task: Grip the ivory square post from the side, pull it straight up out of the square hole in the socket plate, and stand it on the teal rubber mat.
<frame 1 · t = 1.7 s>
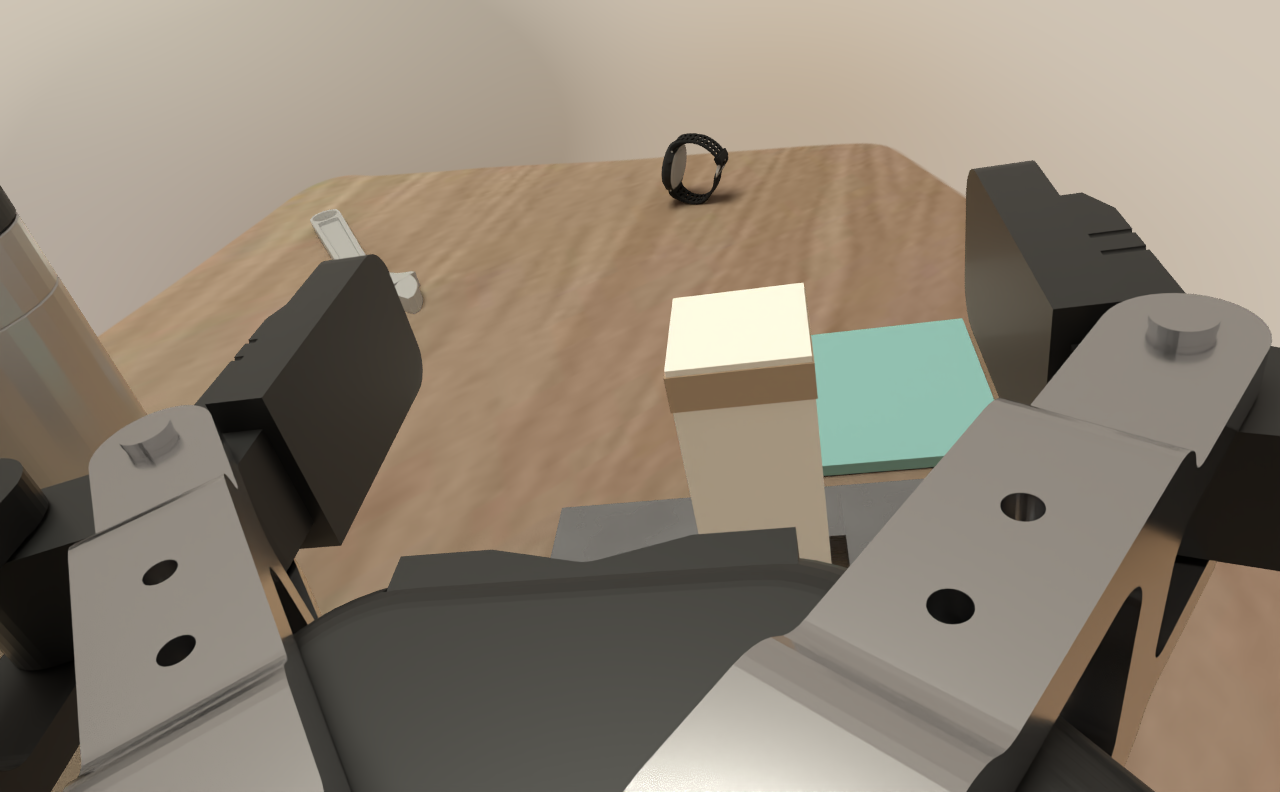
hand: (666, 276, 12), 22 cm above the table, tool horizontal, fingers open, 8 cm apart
socket plate: (783, 638, 34), on the table
post: (763, 502, 30), in the socket plate
smartwatch: (697, 204, 68), on the table
adjustable wrench: (366, 273, 70), on the table
mat: (869, 398, 44), on the table
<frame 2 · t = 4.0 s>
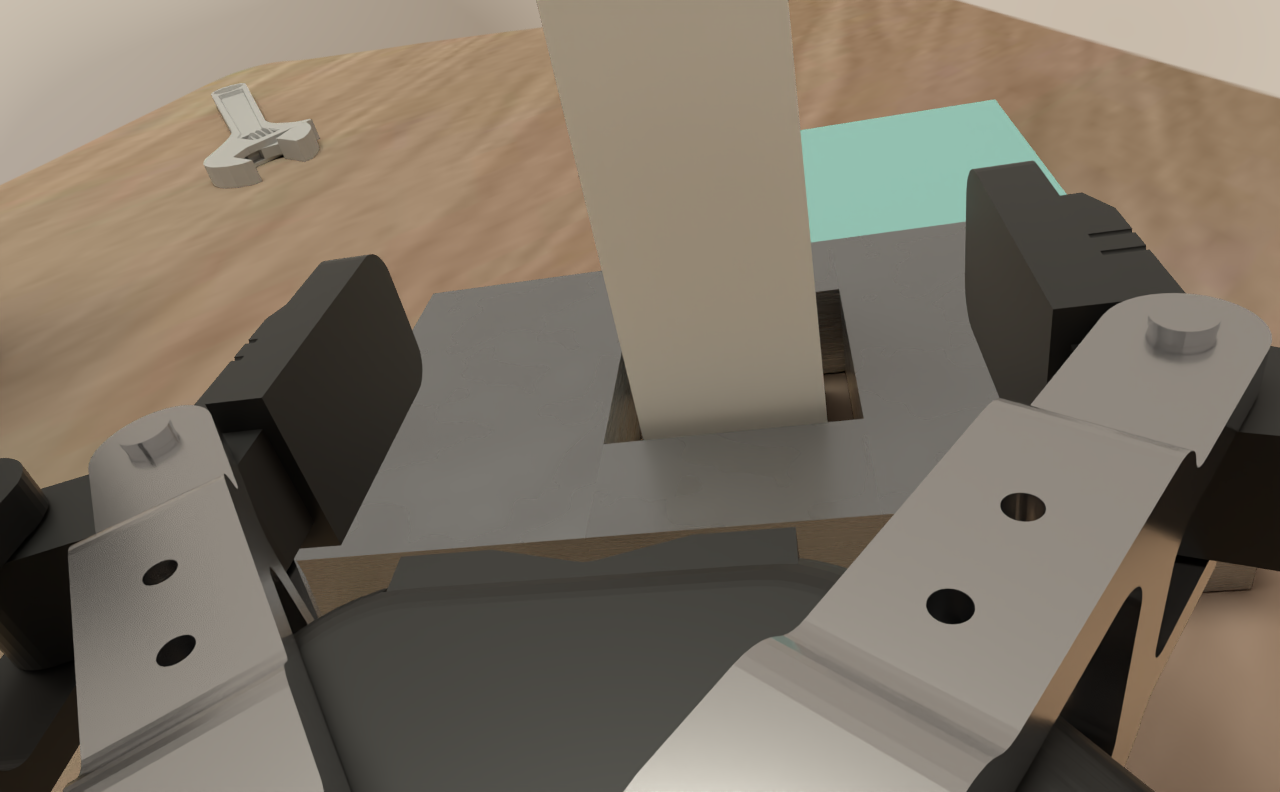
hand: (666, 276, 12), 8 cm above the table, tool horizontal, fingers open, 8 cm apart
socket plate: (744, 444, 22), on the table
post: (701, 177, 18), in the socket plate
adjustable wrench: (264, 137, 59), on the table
mat: (872, 186, 33), on the table
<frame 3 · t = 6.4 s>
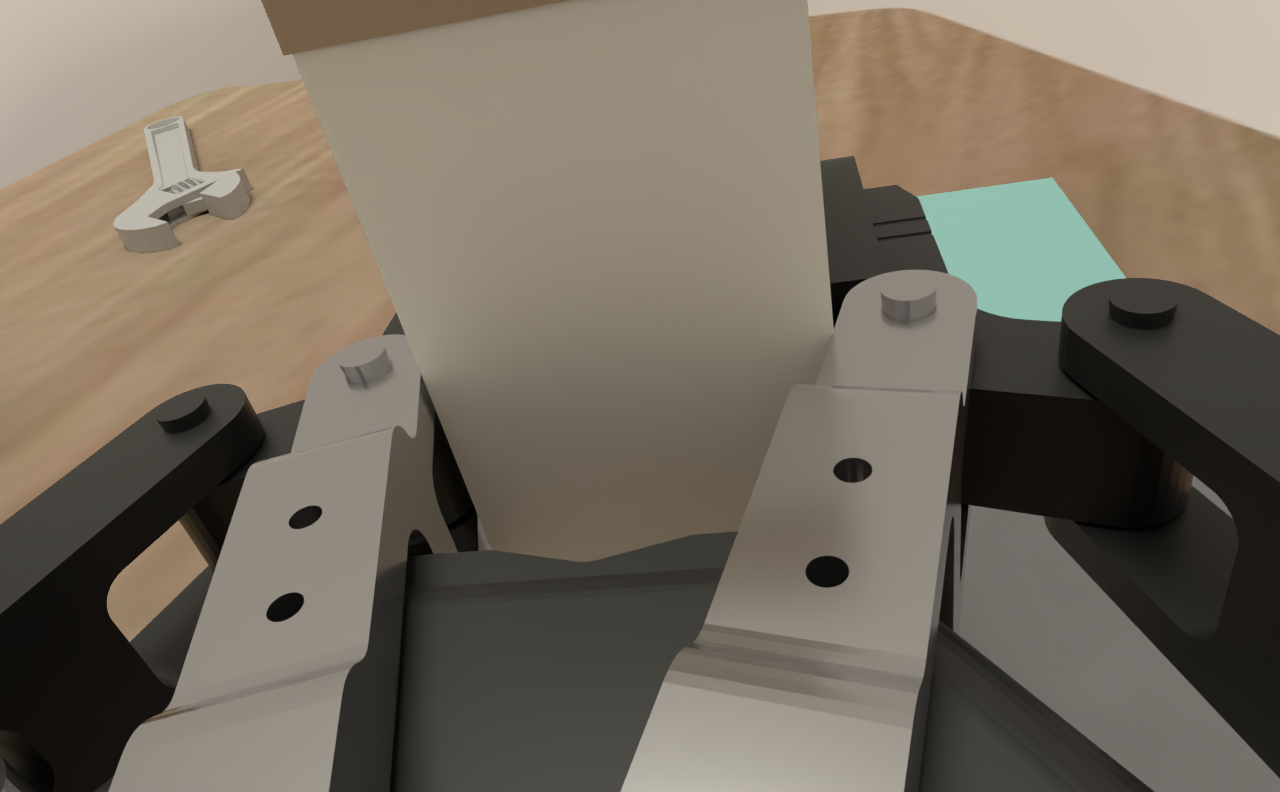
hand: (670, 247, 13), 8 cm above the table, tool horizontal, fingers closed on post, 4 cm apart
socket plate: (743, 745, 15), on the table
post: (675, 428, 11), in the socket plate, touching gripper
adjustable wrench: (196, 183, 53), on the table
mat: (905, 296, 26), on the table
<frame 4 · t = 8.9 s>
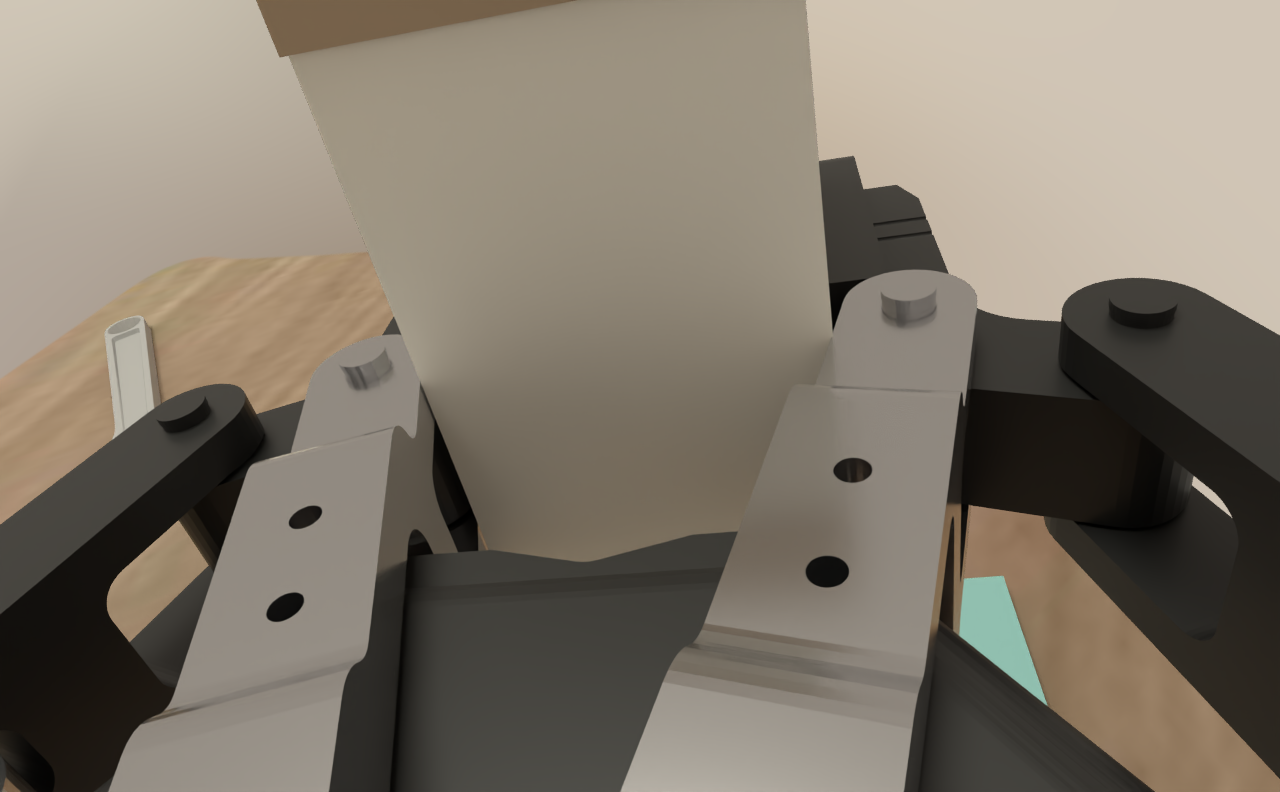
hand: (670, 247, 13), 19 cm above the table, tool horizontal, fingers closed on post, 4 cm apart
post: (674, 431, 11), point 18 cm above the table, touching gripper
adjustable wrench: (158, 412, 53), on the table
mat: (856, 741, 27), on the table
when the fingers open (10 cm above the table, at t = 11.4 s): post drops 1 cm, resting on mat.
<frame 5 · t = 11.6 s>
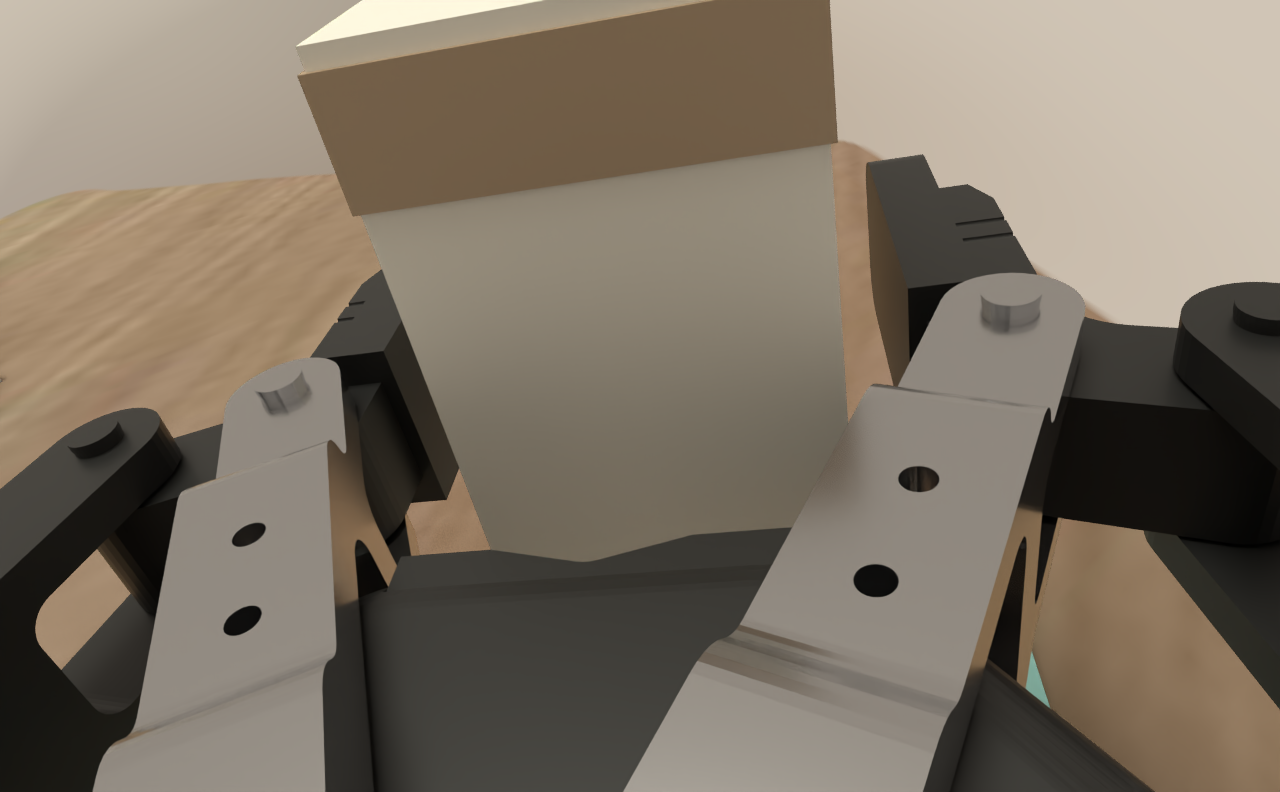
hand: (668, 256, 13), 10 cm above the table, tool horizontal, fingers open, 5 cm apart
post: (690, 509, 12), on the mat, point 8 cm above the table
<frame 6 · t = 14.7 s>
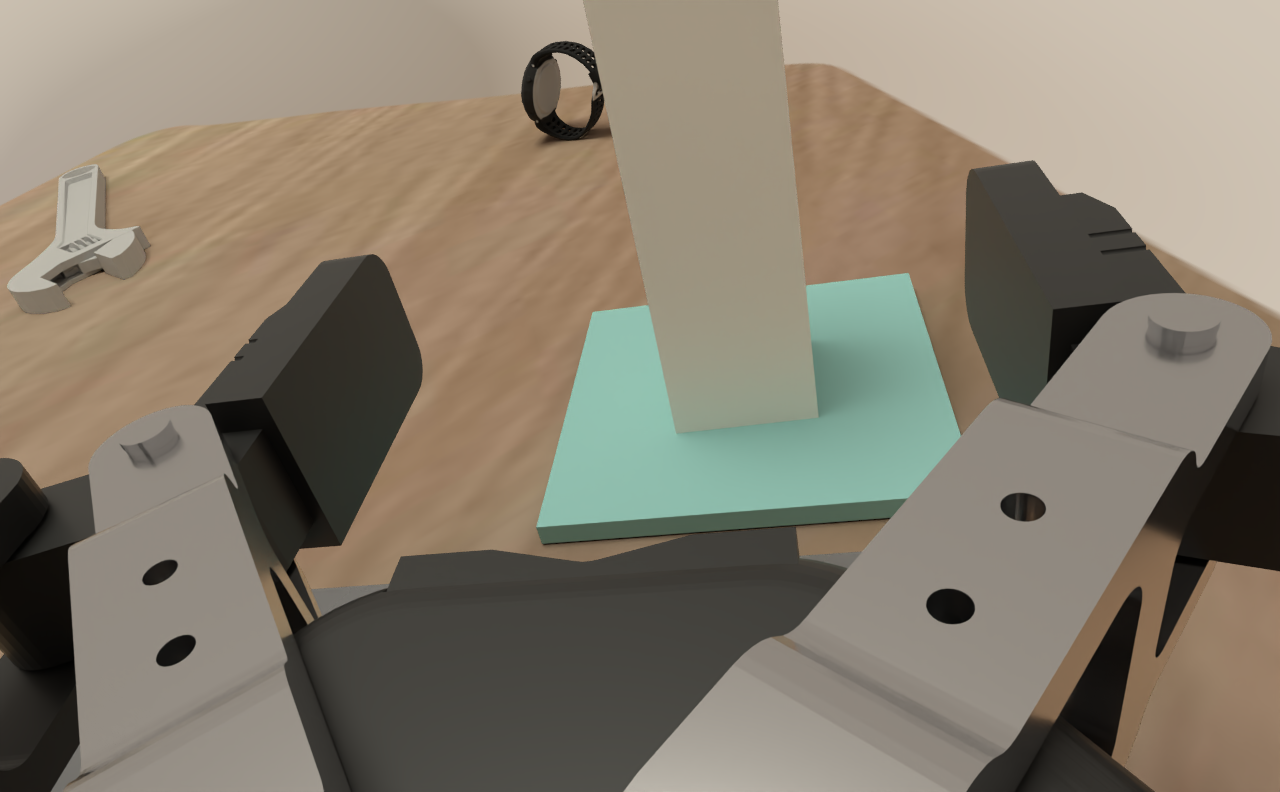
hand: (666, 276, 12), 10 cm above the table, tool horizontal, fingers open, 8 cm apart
post: (710, 161, 23), on the mat, point 8 cm above the table
smartwatch: (575, 140, 51), on the table
adjustable wrench: (103, 235, 54), on the table
mat: (748, 399, 27), on the table
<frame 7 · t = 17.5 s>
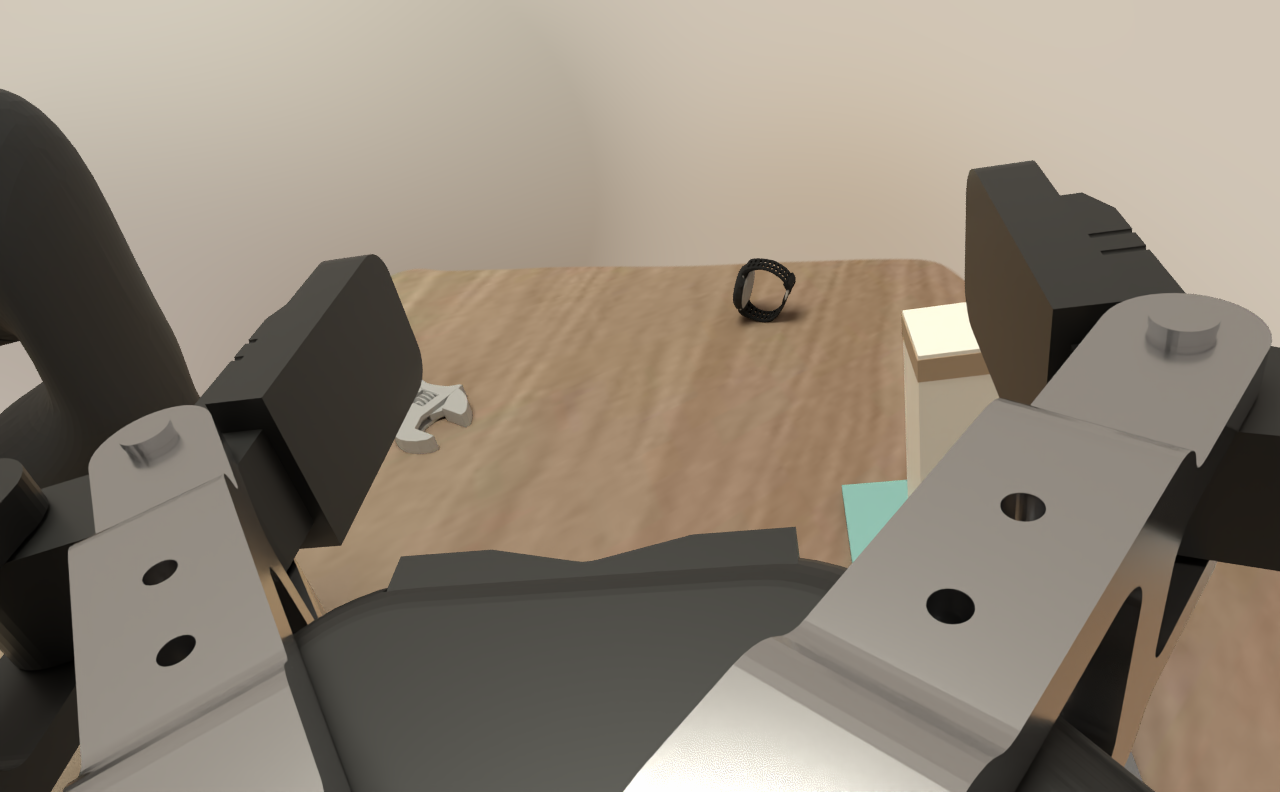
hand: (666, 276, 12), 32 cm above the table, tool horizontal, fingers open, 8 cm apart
post: (953, 445, 45), on the mat, point 8 cm above the table
smartwatch: (765, 321, 73), on the table
adjustable wrench: (411, 380, 77), on the table
mat: (953, 551, 49), on the table
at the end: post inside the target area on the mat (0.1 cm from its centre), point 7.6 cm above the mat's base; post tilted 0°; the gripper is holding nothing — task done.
